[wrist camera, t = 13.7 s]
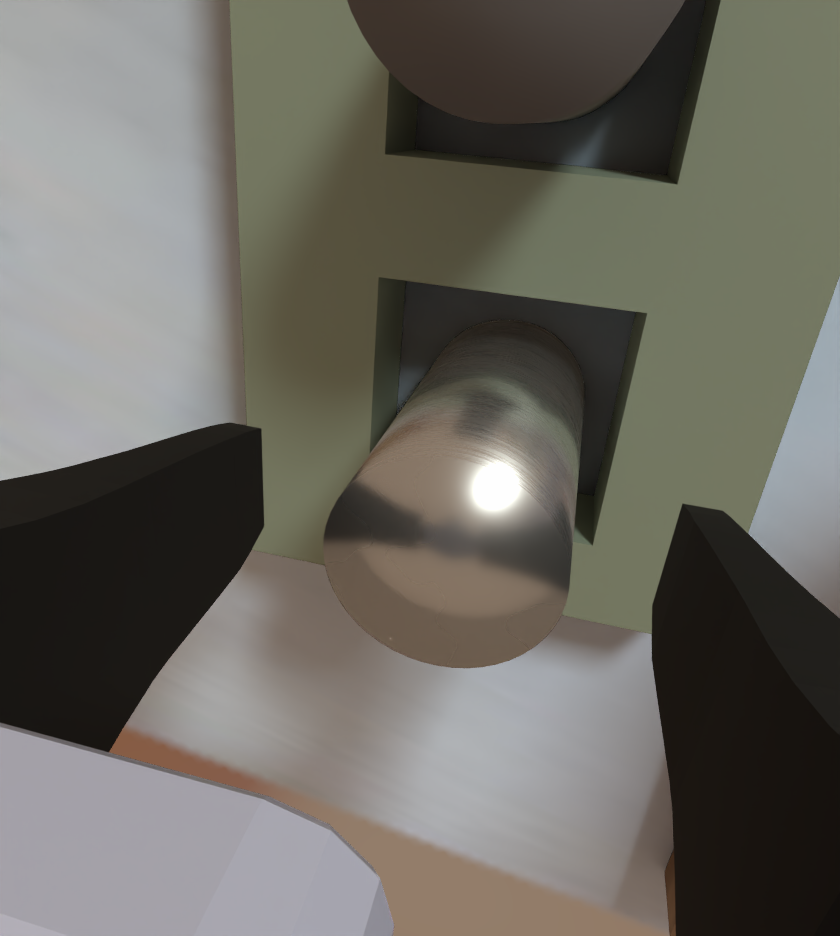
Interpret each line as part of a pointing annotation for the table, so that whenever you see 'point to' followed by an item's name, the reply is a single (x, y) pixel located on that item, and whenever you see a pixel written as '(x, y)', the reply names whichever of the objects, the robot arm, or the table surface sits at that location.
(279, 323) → the tool rack
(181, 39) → the table surface
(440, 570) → the steel peg
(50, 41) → the table surface
